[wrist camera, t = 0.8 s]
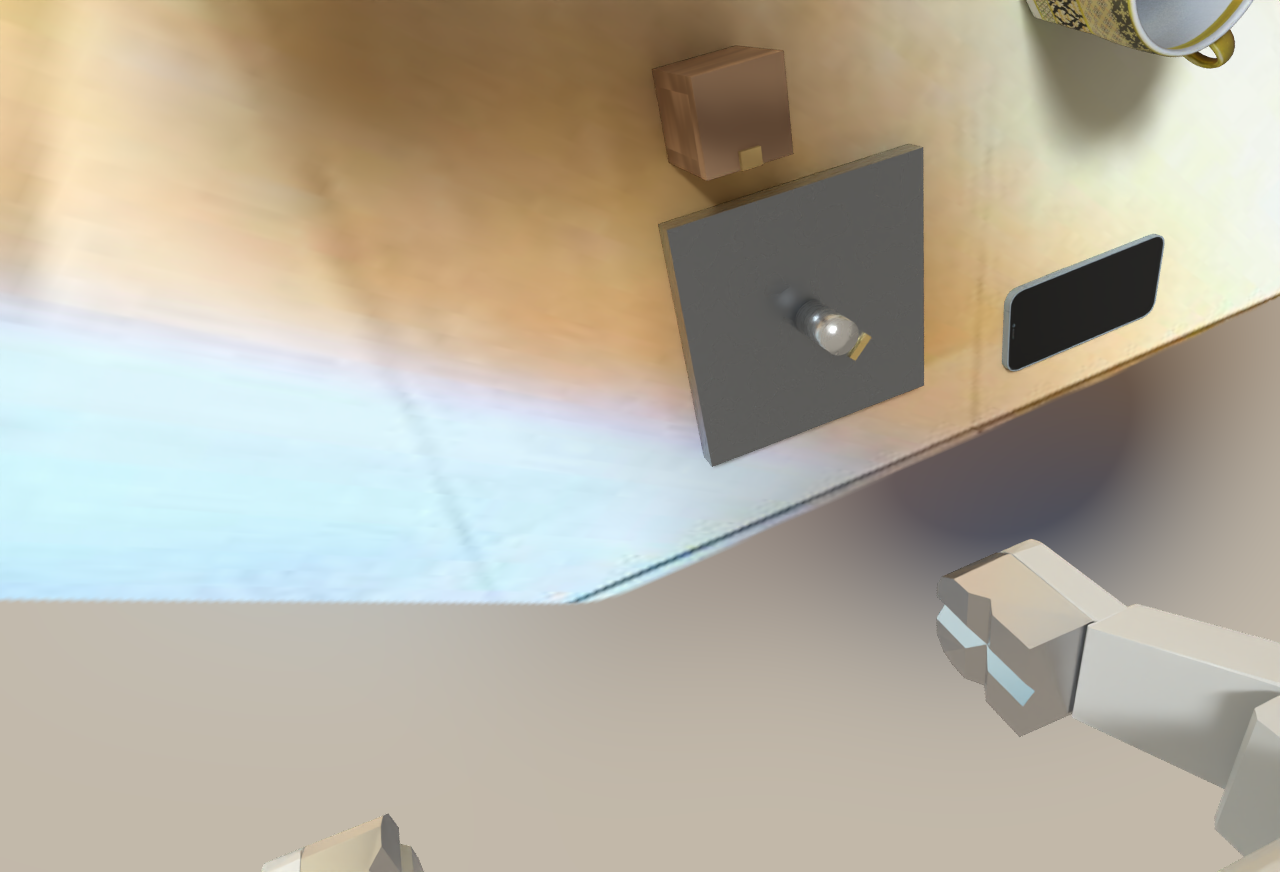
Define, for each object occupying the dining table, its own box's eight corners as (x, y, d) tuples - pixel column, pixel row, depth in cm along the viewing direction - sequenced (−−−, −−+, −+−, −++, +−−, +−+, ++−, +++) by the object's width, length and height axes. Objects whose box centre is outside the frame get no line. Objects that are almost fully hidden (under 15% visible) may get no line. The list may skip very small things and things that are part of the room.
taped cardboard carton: (651, 69, 43) (693, 77, 38) (735, 45, 44) (786, 50, 39) (668, 162, 46) (709, 181, 41) (746, 138, 47) (796, 154, 42)
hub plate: (658, 224, 47) (691, 247, 43) (908, 143, 50) (965, 157, 46) (704, 456, 57) (735, 495, 53) (911, 377, 60) (958, 408, 56)
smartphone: (1153, 313, 65) (1006, 375, 63) (1144, 310, 66) (998, 371, 63) (1166, 231, 61) (1010, 293, 59) (1156, 228, 62) (1001, 290, 59)
